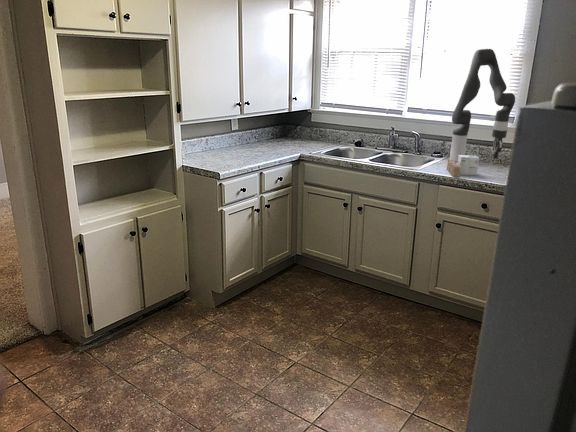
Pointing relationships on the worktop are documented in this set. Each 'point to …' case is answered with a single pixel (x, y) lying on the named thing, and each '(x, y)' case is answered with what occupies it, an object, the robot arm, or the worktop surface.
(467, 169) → the light bulb box
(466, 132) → the robot arm
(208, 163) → the worktop surface
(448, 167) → the orange brown stepped block
